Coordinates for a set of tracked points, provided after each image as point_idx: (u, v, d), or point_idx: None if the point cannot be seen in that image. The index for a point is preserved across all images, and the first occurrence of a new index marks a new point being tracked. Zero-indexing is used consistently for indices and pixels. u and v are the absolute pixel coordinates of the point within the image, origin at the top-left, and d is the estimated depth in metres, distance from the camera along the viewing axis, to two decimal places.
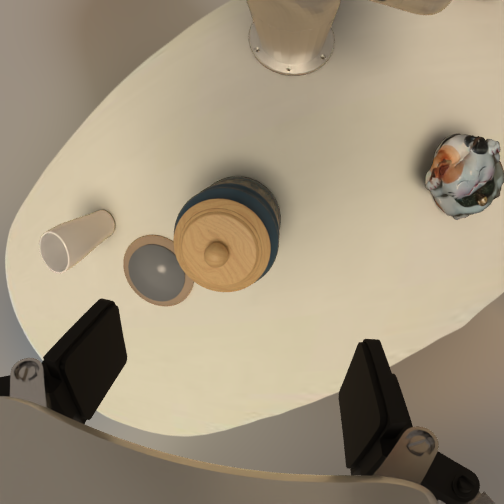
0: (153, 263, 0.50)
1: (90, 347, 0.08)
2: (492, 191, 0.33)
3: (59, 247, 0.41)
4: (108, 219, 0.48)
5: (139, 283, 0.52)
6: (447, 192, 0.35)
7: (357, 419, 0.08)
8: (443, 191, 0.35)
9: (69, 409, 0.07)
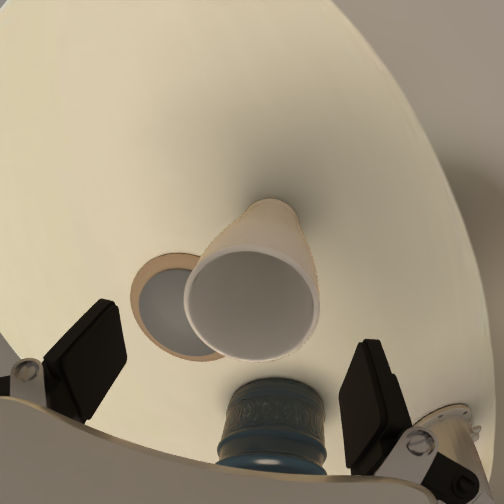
0: None
1: (90, 347, 0.08)
2: None
3: None
4: None
5: (161, 287, 0.30)
6: None
7: (357, 419, 0.08)
8: None
9: (69, 410, 0.07)
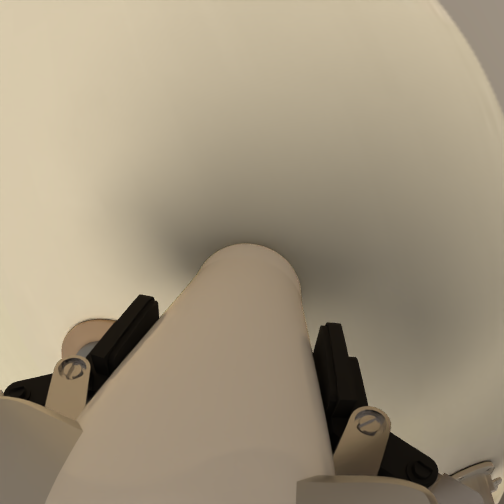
0: None
1: (134, 342, 0.09)
2: None
3: None
4: None
5: None
6: None
7: None
8: None
9: None
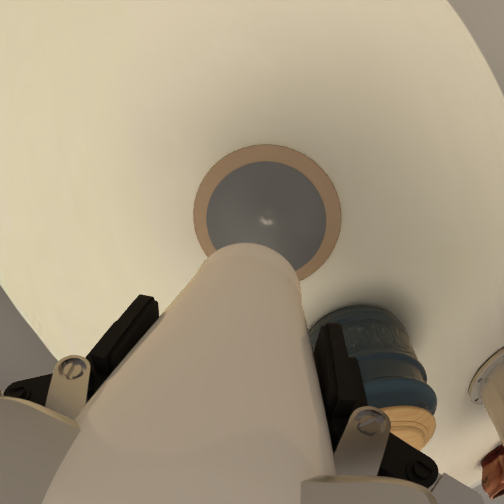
0: (289, 223, 0.27)
1: (135, 342, 0.09)
2: None
3: None
4: None
5: (242, 183, 0.26)
6: None
7: None
8: None
9: None
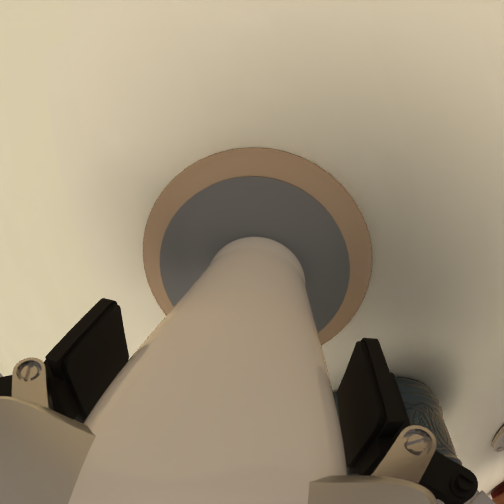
0: None
1: (92, 347, 0.08)
2: None
3: None
4: None
5: (212, 214, 0.16)
6: None
7: (355, 418, 0.08)
8: None
9: (71, 409, 0.07)
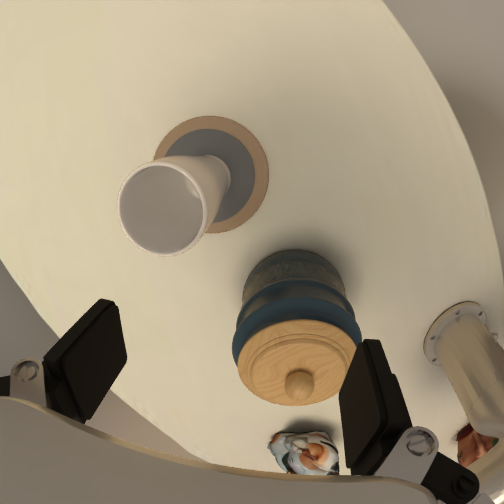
0: None
1: (90, 347, 0.08)
2: None
3: None
4: None
5: (187, 146, 0.32)
6: (291, 455, 0.44)
7: (357, 419, 0.08)
8: (291, 452, 0.45)
9: (69, 409, 0.07)
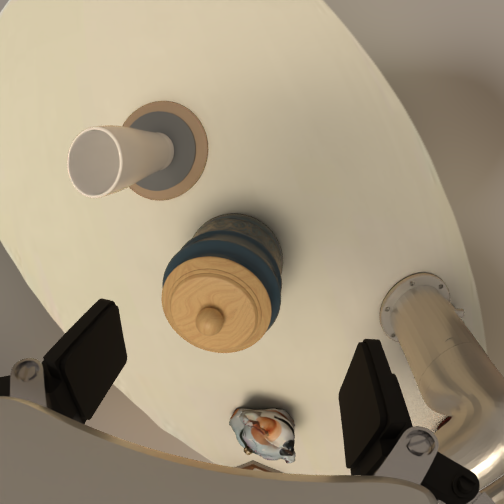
0: None
1: (90, 347, 0.08)
2: None
3: None
4: (161, 169, 0.36)
5: (141, 127, 0.36)
6: (244, 429, 0.47)
7: (357, 419, 0.08)
8: (245, 425, 0.48)
9: (69, 409, 0.07)
